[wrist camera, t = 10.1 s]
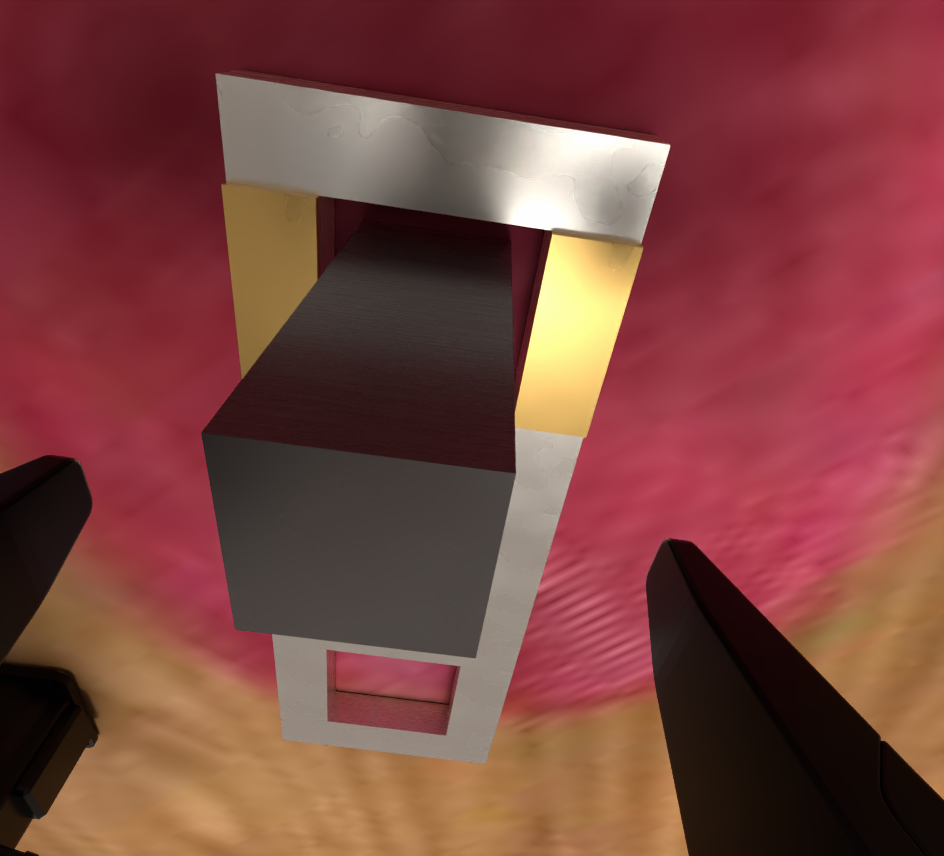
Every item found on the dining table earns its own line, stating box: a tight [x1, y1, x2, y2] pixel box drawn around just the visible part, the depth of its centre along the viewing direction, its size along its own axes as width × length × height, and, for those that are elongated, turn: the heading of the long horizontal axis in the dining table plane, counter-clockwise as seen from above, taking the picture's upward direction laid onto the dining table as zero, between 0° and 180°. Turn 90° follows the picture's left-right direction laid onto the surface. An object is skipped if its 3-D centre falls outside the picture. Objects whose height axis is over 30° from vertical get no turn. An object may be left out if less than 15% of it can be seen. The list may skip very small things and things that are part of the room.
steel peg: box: [201, 220, 516, 658], centre depth 13 cm, size 4×4×10 cm
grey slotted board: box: [215, 70, 671, 764], centre depth 21 cm, size 10×28×2 cm, turn 172°
